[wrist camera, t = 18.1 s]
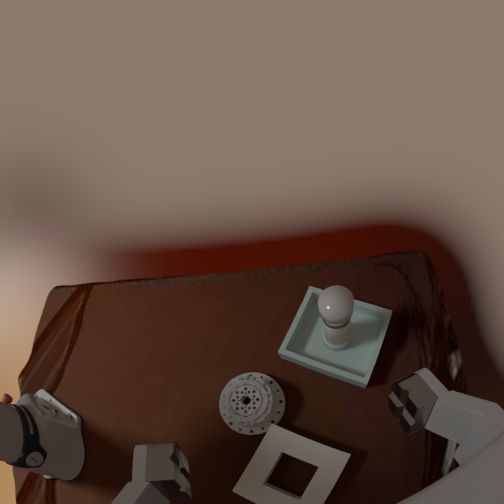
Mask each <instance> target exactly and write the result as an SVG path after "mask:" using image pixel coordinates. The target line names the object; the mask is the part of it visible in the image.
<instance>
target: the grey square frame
mask: <svg viewBox="0 0 504 504" xmlns="http://www.w3.org/2000/svg"><path fill="white" fill-rule="evenodd" d="M283 453H286V454H288V455H290V456H293V457H295V458H298V459H300V460H302V461H305V462H307V463H310V464H313V465H315V466H318V469H317V471H316V473H315V474H314V476H313V478H312V480H311V481H310V483H309V485H308V487H307V488H306V490H305V492H304V493H303V495H302V497H299V496H297V495H294V494H292V493H290V492H287V491H285V490H283V489H280V488H278V487H276V486H274V485H271V484H269V483H267V480H268V479H269V477H270V475H271V474H272V472H273V470H274V469H275V467H276V465H277V464H278V462H279V460H280V458H281V457H282V455H283ZM350 455H351V454H349V453H346V452H343V451H340V450H337V449H334V448H332V447H329V446H326V445H324V444H321V443H318V442H316V441H313V440H310V439H308V438H305V437H303V436H301V435H298V434H296V433H293V432H291V431H289V430H286V429H284V428H282V427H279V426H277V425H275V424H271V426H270V428H269V429H268V431H267V433H266V435H265V437H264V438H263V440H262V442H261V444H260V445H259V447H258V449H257V451H256V452H255V454H254V456H253V457H252V459H251V461H250V462H249V464H248V466H247V467H246V469H245V471H244V472H243V474H242V476H241V477H240V479H239V480H238V482H237V484H236V485H235V487H234V488H233V490H232V491H233V492H235V493H237V494H238V495H240V496H242V497H244V498H246V499H248V500H250V501H252V502H254V503H256V504H324V502H325V500H326V499H327V497H328V495H329V494H330V492H331V490H332V488H333V487H334V485H335V483H336V481H337V480H338V478H339V476H340V474H341V472H342V470H343V469H344V467H345V465H346V463H347V461H348V459H349V457H350Z"/></svg>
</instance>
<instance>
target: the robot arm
mask: <svg viewBox="0 0 504 504" xmlns="http://www.w3.org/2000/svg"><path fill="white" fill-rule="evenodd" d="M391 390H392V391H393V392H392V393H391V395H390V396H389V400H388V404H389V409H390V411H391V413H392V414H393V416H394V417H396V418H399V419H400V423H399V425H400V426H401V427H402V429H403V430H404V432H405V433H406V434H407V435H409V434H411V433H413V432H415V431H417V430H419V429H421V428H423V427H425V428H426V429H428V430H430V431H432V432H434V433H436V434H438V435H441V436H443V437H445V438H447V439H449V440H451V441H454V442H456V443H458V444H460V445H459V446H458V448H457V449H456V451H455V452H454V455H453V456H454V458H455V459H456V460H457V462H458V463H459V465H460V466H459V467H457V468H456V469H455V470H453V471H452V472H450V473H449V474H447V475H446V476H444V477H442V478H441V479H439V480H438V481H436V482H434V483H433V484H431V485H429V486H428V487H426V488H424V489H423V490H421V491H419V492H417V493H416V494H414V495H412V496H410V497H408V498H406V499H404V500H403V501H401V502H399V503H397V504H504V411H503V409H502V408H501V407H500V406H499V405H498V404H497V403H493V402H490V401H486V400H483V399H479V398H476V397H472V396H469V395H465V394H462V393H459V392H455V391H450V392H449V391H448V390H447V389H446V388H445V387H444V386H443V385H442V384H441V383H440V381H439V380H438V379H437V378H436V377H435V376H434V375H433V374H432V373H431V372H430V371H429V370H428V369H426V368H423V369H421V370H419V371H417V372H415V373H412V374H410V375H408V376H406V377H404V378H402V379H400V380H398V381H396V382H394V383H393V384H392V387H391ZM12 400H13V399H12V397H11V396H9V395H8V394H6V393H5V394H4V397H3V399H2V402H0V460H1V461H5V462H6V463H7V464H9V465H12V466H14V467H20V468H23V469H25V470H28V471H31V472H35V473H38V474H42V475H43V476H44V477H45V478H48V479H53V478H58V479H62V480H71V479H73V478H75V477H76V476H77V475H78V474H79V473H80V471H81V469H82V466H83V463H84V455H85V451H84V443H83V439H82V435H81V418H80V416H79V415H78V414H76V413H75V412H73V411H72V410H71V409H69V408H68V407H67V406H65V405H64V404H63V403H61V402H60V401H59V400H58V399H56V398H55V397H54V396H53V395H51V394H50V393H49V392H48V391H46V390H44V389H41V390H39V391H38V392H37V393H36V394H35V395H31V394H25V395H23V396H22V397H21V398H20V399H19V400H18V402H17V403H16V404H10V403H11V402H12ZM188 476H189V466H188V462H187V459H186V457H185V455H184V453H183V452H180V451H179V446H178V444H177V443H176V442H172V443H162V444H146V445H136V446H135V448H134V455H133V470H132V482H128V483H127V484H126V486H125V487H124V488H123V489H122V491H121V492H120V493H119V494H118V496H117V497H116V498H115V499H114V500H113V502H112V503H111V504H169V503H170V500H181V499H191V498H192V497H191V486H190V483H189V482H188V480H187V479H186V478H187V477H188Z"/></svg>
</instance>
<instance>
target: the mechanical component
mask: <svg viewBox="0 0 504 504" xmlns="http://www.w3.org/2000/svg"><path fill="white" fill-rule="evenodd" d="M271 382H273V384H271ZM259 390H260V391H261V392H260V391H259ZM278 391H279V392H278ZM247 397H249V399H248V400H247V401H246V403H247V405H245V404H244V402H243V400H244V399H245V398H247ZM258 400H259V401H258ZM281 400H282V401H283V402H282V403H280V401H281ZM249 401H251V402H250V403H249ZM248 403H249V404H248ZM285 404H286V402H285V396H284V393H283V390H282V389H281V387H280V386H279V384H278V383H277V382H276V381H275V380H273V379H272V378H271V377H269V376H267V375H265V374H262V373H245V374H242V375H239V376H237V377H236V378H234V379H232V380H231V381H230V382H229V383H228V384H227V385H226V387H225V388H224V390H223V391H222V394H221V397H220V402H219V408H220V414H221V416H222V418H223V420H224V422H225V423H226V424H227V425H228V426H229V427H230V428H231V429H232V430H234V431H237V432H239V433H241V434H245V435H259V434H263V433H266V432H267V431H268V429H269V428H270V426H271V424H272V422H273V421H274V424H275V425H277V424H278V423H279V422H280V420H281V418H282V416H283V414H284V411H285ZM255 408H256V409H255ZM246 412H247V413H246ZM279 412H280V413H279ZM240 415H241V416H240ZM231 423H233V424H232V425H231ZM263 428H264V430H263ZM241 429H242V430H241ZM252 430H253V433H252V432H251V431H252Z"/></svg>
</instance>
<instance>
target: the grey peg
mask: <svg viewBox="0 0 504 504" xmlns="http://www.w3.org/2000/svg"><path fill="white" fill-rule="evenodd" d="M318 307H319V313H320V316H321V318H322V320H323V327H324V329H323V333H322V335H323V342H324V344H325V346H326V347H327V348H328V349H330V350H332V351H341V350H343V349H345V348H346V347H347V346H348V345H349V344H350V341H351V334H352V331H351V328H350V321H351V316H352V314H353V310H354V297H353V295H352V293H351V292H350V291H349V290H348V289H347V288H345V287H342V286H331V287H328V288H326V289H325V290H324V291H323V292H322V293H321V294H320V296H319V299H318Z"/></svg>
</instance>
